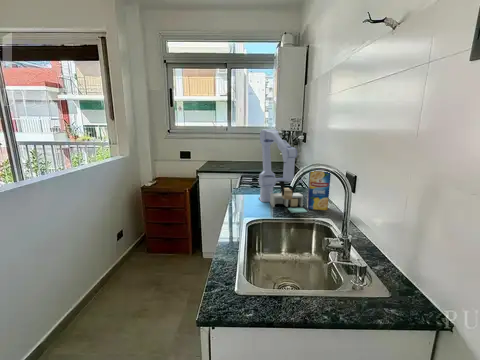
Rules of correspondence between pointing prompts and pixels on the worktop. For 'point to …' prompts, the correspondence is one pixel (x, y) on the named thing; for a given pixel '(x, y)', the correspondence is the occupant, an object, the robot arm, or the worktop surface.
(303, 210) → the teal mat
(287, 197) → the beech bar
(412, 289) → the worktop surface
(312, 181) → the beverage box
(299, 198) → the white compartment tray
